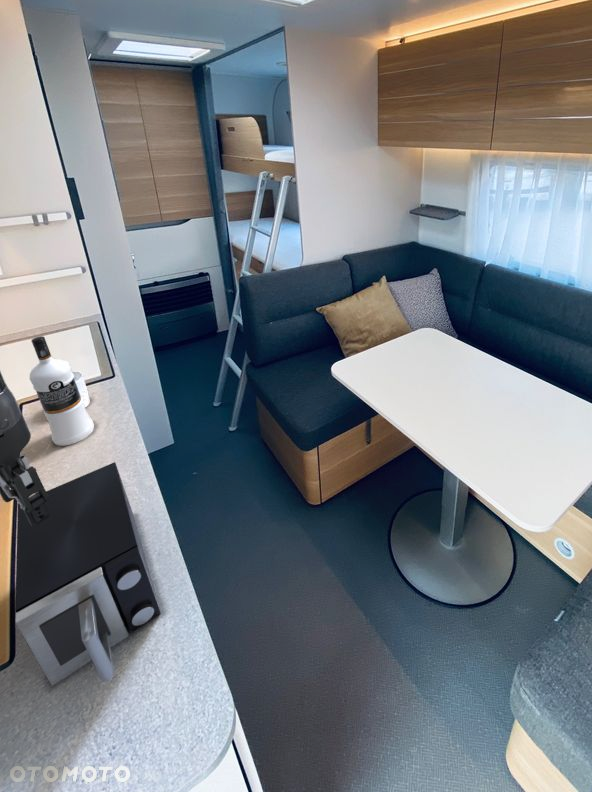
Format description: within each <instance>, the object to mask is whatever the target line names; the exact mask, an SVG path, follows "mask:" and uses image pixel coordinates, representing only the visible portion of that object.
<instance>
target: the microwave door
mask: <svg viewBox="0 0 592 792" xmlns="http://www.w3.org/2000/svg"><path fill="white" fill-rule="evenodd" d="M15 625H16V627H17V628H18V630H19V632H20V633H21V635H22V637H23V639H24V640H25V642H26V644H27V646H28V647H29V649H30V650H31V652H32V654H33V655H34V658H35V659H36V661H37V663H38V665H39V666H40V668H41V669H42V671H43V673H44V674H45V676H46V678H47V680H48V681H49V683H50V684H51V686H54V685H56V684H57V683H59V682H60V681H63V680H64V679H66V678H67V677H68V676H70V675H71V674H73V673H74V672H76V671H77V670H79V669H80V668H82V667H84V666H85V665H87V664H89V663H90V662H91V661H92V663H93V665H94V667H95V669H96V671H97V673H98V675H99V677H100V680H101V682H103V683H108V682H109V681H111V680H112V679H113V678H114V675H115V673H116V671H115V666H114V665H115V664H114V659H113V652H112V648H113V647H114V646H116V645H117V644H119V643H121V642H122V641H124V640H125V639H127V638H129V631H128V627H127V626H126V624H125V622H124V619H123V617H122V615H121V612H120V610H119V607H118V605H117V603H116V600H115V598H114V595H113V593H112V591H111V588H110V586H109V583H108V581H107V578H106V576H105V574H104V571H103V569H102V567H100V568H98V569H96V570H94V571H92V572H90V573H88V574H87V575H85V576H83V577H81V578H79V579H77V580H76V581H74V582H72V583H70V584H68V585H66V586H65V587H63V588H61V589H59V590H57V591H55V592H54V593H52V594H50V595H48V596H46V597H44V598H43V599H41V600H39V601H37V602H35V603H33V604H32V605H30V606H28V607H26V608H24V609H22V610H21V611H19V612H17V613H16V612H15Z"/></svg>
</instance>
